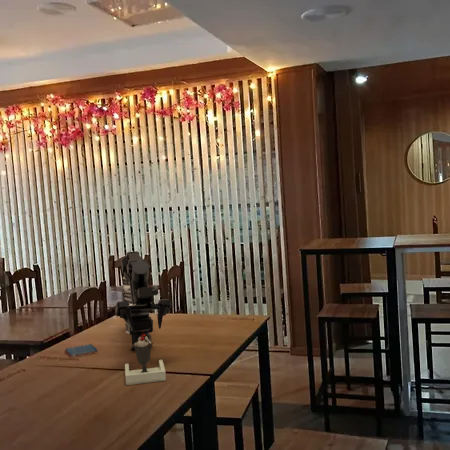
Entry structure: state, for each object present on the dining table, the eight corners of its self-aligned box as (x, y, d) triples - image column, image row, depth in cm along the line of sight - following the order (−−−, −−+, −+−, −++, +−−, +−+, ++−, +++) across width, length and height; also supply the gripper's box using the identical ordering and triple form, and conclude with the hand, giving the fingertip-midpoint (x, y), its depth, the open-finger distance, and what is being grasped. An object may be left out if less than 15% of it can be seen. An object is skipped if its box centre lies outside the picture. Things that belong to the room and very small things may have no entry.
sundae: (145, 379, 180) (142, 332, 179) (130, 376, 184) (126, 330, 182) (159, 373, 185) (156, 327, 184) (144, 370, 189) (141, 325, 188)
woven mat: (63, 353, 218) (63, 348, 218) (91, 348, 223) (91, 343, 223) (70, 360, 209) (69, 354, 209) (98, 354, 214) (98, 349, 214)
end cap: (125, 372, 189) (124, 364, 189) (162, 368, 191) (162, 359, 191) (126, 385, 177) (125, 375, 177) (166, 380, 179) (165, 371, 179)
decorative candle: (150, 329, 246) (146, 271, 245) (138, 334, 238) (134, 275, 236) (133, 328, 250) (129, 271, 249) (120, 333, 242) (116, 275, 240)
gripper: (117, 278, 192) (121, 318, 183) (170, 276, 199) (178, 315, 189) (113, 296, 201) (117, 335, 191) (165, 293, 207) (171, 332, 197)
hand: (146, 329), depth 192 cm, fingers open, 9 cm apart
